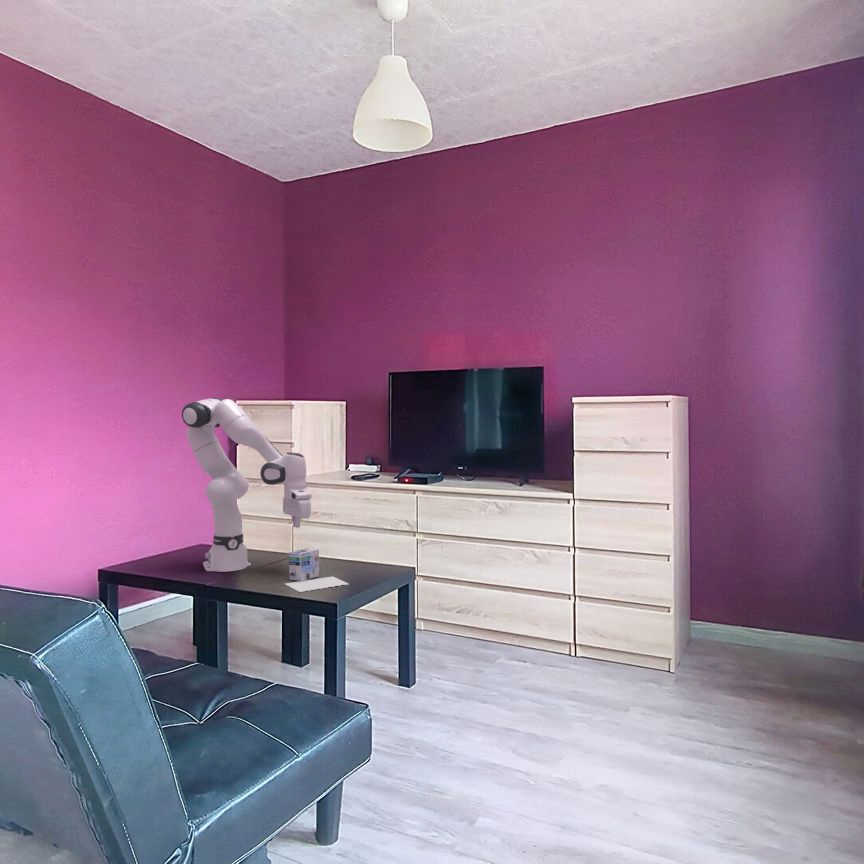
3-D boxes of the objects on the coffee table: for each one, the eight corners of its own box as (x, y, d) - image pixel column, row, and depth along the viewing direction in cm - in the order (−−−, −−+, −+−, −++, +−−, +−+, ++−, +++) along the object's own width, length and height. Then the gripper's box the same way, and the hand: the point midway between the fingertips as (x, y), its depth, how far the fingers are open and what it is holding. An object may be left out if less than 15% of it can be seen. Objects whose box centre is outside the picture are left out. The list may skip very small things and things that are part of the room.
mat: (284, 584, 250) (284, 583, 250) (332, 577, 262) (332, 576, 261) (299, 592, 239) (299, 591, 239) (349, 584, 250) (349, 583, 250)
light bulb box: (301, 581, 253) (301, 553, 253) (288, 580, 257) (287, 552, 257) (320, 576, 262) (319, 549, 262) (307, 574, 266) (306, 547, 266)
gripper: (278, 491, 273) (279, 524, 273) (298, 495, 256) (299, 531, 256) (292, 490, 276) (293, 523, 276) (313, 494, 259) (314, 529, 260)
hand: (296, 527), depth 266 cm, fingers closed
